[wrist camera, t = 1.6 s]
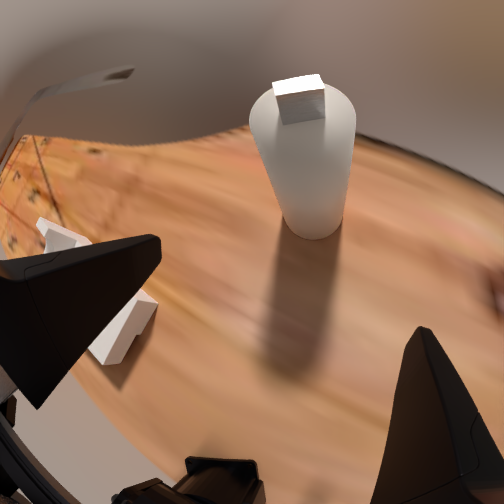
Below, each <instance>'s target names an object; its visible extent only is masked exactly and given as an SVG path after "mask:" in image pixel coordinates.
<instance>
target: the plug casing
mask: <svg viewBox="0 0 504 504" xmlns="http://www.w3.org/2000/svg"><path fill="white" fill-rule="evenodd" d="M272 85H273V88H272V89H270V90H269V91H267V92H266V93H264V94H263V95H262V96H261V97H260V98H259V99H258V100H257V101H256V103H255V104H254V106H253V108H252V110H251V113H250V118H249V126H250V130H251V132H252V135H253V137H254V140H255V142H256V145H257V147H258V150H259V153H260V155H261V158H262V160H263V163H264V166H265V168H266V171H267V173H268V176H269V179H270V181H271V184H272V187H273V189H274V192H275V195H276V197H277V200H278V203H279V206H280V208H281V211H282V214H283V217H284V219H285V222H286V224H287V226H288V227H289V229H290V230H291V231H292V232H293V233H294V234H296V235H297V236H299V237H301V238H304V239H309V240H318V239H323V238H325V237H327V236H329V235H331V234H332V233H334V232H335V231H336V229H337V228H338V227H339V225H340V223H341V221H342V217H343V212H344V206H345V200H346V194H347V188H348V182H349V175H350V168H351V161H352V154H353V146H354V137H355V128H356V113H355V110H354V107H353V105H352V104H351V102H350V101H349V99H348V98H347V97H346V96H345V95H344V94H343V93H341V92H340V91H339V90H337V89H335V88H334V87H331V86H329V85H327V84H324V83H322V82H321V79H320V77H319V75H310V76H304V77H298V78H292V79H286V80H281V81H276V82H272Z"/></svg>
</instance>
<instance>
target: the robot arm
mask: <svg viewBox="0 0 504 504" xmlns="http://www.w3.org/2000/svg"><path fill="white" fill-rule="evenodd" d="M161 259H162V252H161V240H160V238H159V237H158V236H155V235H152V234H146V235H140V236H135V237H129V238H123V239H118V240H112V241H107V242H102V243H96V244H91V245H86V246H81V247H76V248H71V249H66V250H63V251H62V250H61V251H56V252H51V253H46V254H40V255H34V256H28V257H22V258H16V259H10V260H0V504H31V502H32V503H33V504H81V503H80V502H79V501H78V500H77V499H76V498H74V497H73V496H72V495H71V494H70V493H69V492H68V491H67V490H66V489H65V488H64V487H63V486H62V485H61V484H60V483H59V482H58V481H57V480H56V479H55V478H54V477H53V476H52V475H51V474H50V473H49V472H48V471H47V470H46V469H45V468H44V467H43V465H42V464H41V463H40V462H39V461H38V460H37V459H36V458H35V456H34V455H33V454H32V453H31V452H30V451H29V449H28V448H27V447H26V446H25V444H24V443H23V442H22V441H21V439H20V438H19V437H18V435H17V434H16V433H15V431H14V430H13V429H12V428H13V427H14V425H15V413H16V402H17V399H16V398H15V396H14V395H13V393H14V392H16V390H18V389H19V390H20V391H21V392H22V394H23V395H24V396H25V397H26V398H27V399H28V401H29V402H30V403H31V404H32V405H33V406H34V407H35V409H36V410H38V409H39V408H40V407H41V406H42V404H43V403H44V402H45V400H46V399H47V398H48V396H49V395H50V394H51V393H52V391H53V390H54V389H55V387H56V386H57V385H58V384H59V383H60V381H61V380H62V379H63V378H64V376H65V375H66V374H67V372H68V370H70V369H71V367H72V366H73V365H74V364H75V363H76V361H77V360H78V359H79V358H80V357H81V355H82V354H83V353H84V352H85V351H86V350H87V348H88V347H89V346H90V345H91V344H92V343H93V341H94V340H95V339H96V338H97V337H98V336H99V334H100V333H101V332H102V331H103V330H104V329H105V328H106V326H107V325H108V324H109V323H110V322H111V321H112V320H113V319H114V317H115V316H116V315H117V314H118V313H119V312H120V311H121V310H122V309H123V307H124V306H125V305H126V304H127V303H128V302H129V301H130V300H131V299H132V298H133V297H134V295H135V294H136V293H137V292H138V291H139V289H140V288H141V287H142V286H143V284H144V283H145V282H146V280H147V279H148V278H149V276H150V275H151V274H152V273H153V271H154V270H155V269H156V267H157V266H158V265H159V263H160V262H161ZM189 460H191V461H192V463H191V462H190V461H189ZM248 464H252V465H253V466H252V467H251V466H249V465H248ZM185 465H186V469H187V473H188V474H187V475H185V476H184V477H183V478H182V479H181V480H180V481H179V482H178V483H177V484H176V485H174V486H173V487H172V488H171V487H169V486H168V485H166V484H164V483H163V481H162V480H160V479H158V478H154V479H151V480H148V481H145V482H143V483H139V484H136V485H133V486H131V487H128V488H124V489H123V490H122V491H121V492H120V493H119V494H115V495H113V496H112V498H111V501H112V504H265V502H266V498H265V491H264V484H263V481H262V480H259V475H258V468H257V463H256V462H255V461H254V460H241V459H217V458H203V457H193V456H189V457H187V458H186V459H185ZM18 488H20V489H21V491H22V492H23V493H24V494H25V496H26V497H27V498H28V499H29V500H30V501H31V502H29V501H28V500H27V499H26V498H25V497H24V496H23V495H21V494H20V493H18V492H17V489H18ZM370 504H504V459H503V457H502V455H501V453H500V451H499V450H498V448H497V446H496V444H495V442H494V440H493V438H492V437H491V435H490V433H489V431H488V429H487V427H486V425H485V423H484V421H483V419H482V417H481V415H480V413H479V412H478V409H477V407H476V405H475V403H474V401H473V399H472V398H471V396H470V394H469V392H468V390H467V388H466V387H465V385H464V383H463V381H462V379H461V378H460V376H459V374H458V373H457V371H456V369H455V367H454V366H453V364H452V362H451V361H450V359H449V358H448V356H447V354H446V353H445V351H444V349H443V348H442V346H441V345H440V343H439V342H438V340H437V338H436V337H435V335H434V334H433V332H432V331H431V330H430V329H429V328H425V327H422V326H419V327H418V328H417V329H416V330H415V332H414V333H413V335H412V336H411V338H410V340H409V341H408V343H407V344H406V346H405V349H404V353H403V359H402V363H401V368H400V373H399V377H398V382H397V386H396V390H395V395H394V402H393V408H392V414H391V420H390V426H389V431H388V436H387V441H386V446H385V450H384V455H383V459H382V463H381V467H380V471H379V475H378V478H377V482H376V485H375V489H374V492H373V495H372V499H371V502H370Z"/></svg>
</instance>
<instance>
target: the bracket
mask: <svg viewBox="0 0 504 504" xmlns="http://www.w3.org/2000/svg"><path fill="white" fill-rule="evenodd" d="M36 226H37V227H38V229H39V230H40V232H41V233H42V235H43V236H44V237H45V238H46V247H45V251H44V253H43V254H46V253H51V252H56V251H61V250H62V251H63V250H66V249H71V248H76V247H81V246H86V245H91V244H92V243H91V242H90V241H89V240H88V239H87V238H86V237H84V236H81V235H79V234H77V233H75V232H72V231H70V230H68V229H66V228H63V227H61V226H59V225H57V224H54V223H52V222H50V221H48V220H46V219H44V218H41V217H40V218H39V220H38V222H37V224H36ZM157 305H158V303H157V302H156V301H155V300H154V299H152V298H151V297H150V296H149V295H148V294H147V293H145V292H144V291H143V290H142V289H141V288H140V289H139V291H138V292H137V293H136V294H135V295H134V297H133V298H132V299H131V300H130V301H129V302H128V303H127V304H126V305H125V306H124V307H123V309H122V310H121V311H120V312H119V313H118V314H117V315H116V316H115V317H114V319H113V320H112V321H111V322H110V323H109V324H108V325H107V326H106V328H105V329H104V330H103V331H102V332H101V333H100V334H99V336H98V337H97V338H96V339H95V340H94V341H93V343H92V344H91V345H90V346H89V347H88V349H89V350H90V351H91V353H92V354H93V355H94V356H95V357H96V358H97V359H98V361H99V362H100V363H101V364H102V365H111V364H120V363H121V362H122V360H123V358H124V356H125V354H126V352H127V351H128V349H129V347H130V345H131V343H132V342H133V340H134V338H135V336H136V335H141V333H142V331H143V330H144V328H145V326H146V324H147V323H148V321H149V319H150V317H151V316H152V314H153V312H154V311H155V309H156V307H157Z"/></svg>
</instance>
